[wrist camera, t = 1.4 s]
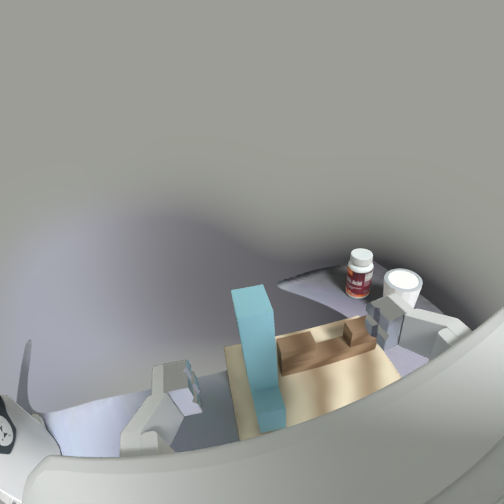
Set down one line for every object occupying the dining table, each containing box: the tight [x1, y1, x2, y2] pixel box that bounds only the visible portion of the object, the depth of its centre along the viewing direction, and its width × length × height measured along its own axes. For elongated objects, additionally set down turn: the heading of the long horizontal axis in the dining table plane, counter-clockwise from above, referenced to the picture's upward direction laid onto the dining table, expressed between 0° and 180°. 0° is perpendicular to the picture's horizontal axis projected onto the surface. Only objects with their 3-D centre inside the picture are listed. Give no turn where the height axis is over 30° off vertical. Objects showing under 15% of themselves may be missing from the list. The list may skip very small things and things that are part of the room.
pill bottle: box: [346, 249, 373, 299], centre depth 49 cm, size 5×5×8 cm
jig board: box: [224, 315, 401, 441], centre depth 33 cm, size 22×17×6 cm
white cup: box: [383, 269, 423, 308], centre depth 42 cm, size 7×7×7 cm
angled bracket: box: [231, 284, 286, 433], centre depth 28 cm, size 3×10×16 cm, turn 10°
